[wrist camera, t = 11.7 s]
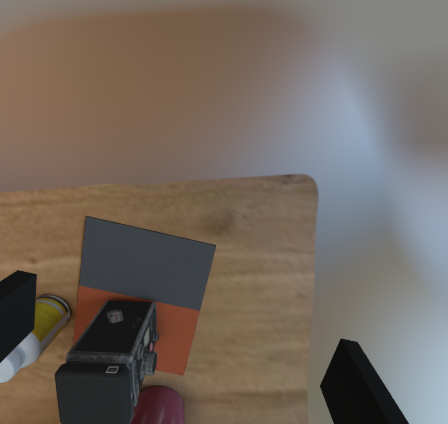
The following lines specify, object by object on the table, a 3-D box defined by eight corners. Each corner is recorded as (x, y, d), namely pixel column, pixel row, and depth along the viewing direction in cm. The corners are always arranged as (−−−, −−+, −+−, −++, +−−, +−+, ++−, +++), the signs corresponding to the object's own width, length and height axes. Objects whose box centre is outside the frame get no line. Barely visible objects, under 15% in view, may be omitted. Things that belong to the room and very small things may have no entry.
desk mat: (215, 245, 41) (215, 246, 41) (183, 374, 48) (183, 375, 48) (86, 216, 40) (85, 216, 40) (73, 352, 47) (72, 353, 46)
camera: (107, 347, 46) (53, 443, 32) (102, 294, 43) (40, 374, 29) (166, 350, 46) (139, 447, 32) (166, 297, 43) (135, 378, 29)
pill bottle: (38, 287, 43) (-28, 340, 32) (76, 301, 44) (25, 358, 33) (29, 318, 45) (-36, 378, 34) (66, 331, 46) (14, 394, 34)
